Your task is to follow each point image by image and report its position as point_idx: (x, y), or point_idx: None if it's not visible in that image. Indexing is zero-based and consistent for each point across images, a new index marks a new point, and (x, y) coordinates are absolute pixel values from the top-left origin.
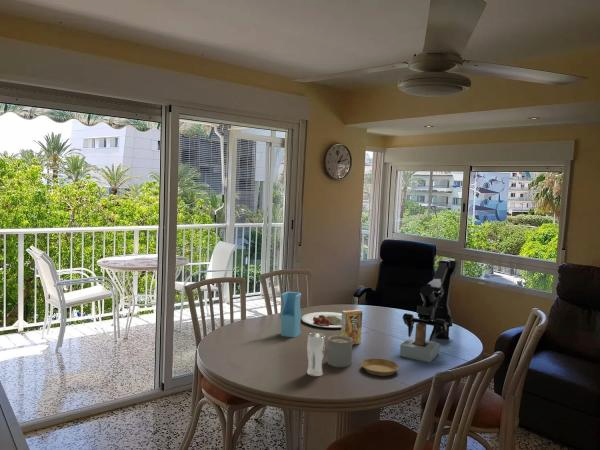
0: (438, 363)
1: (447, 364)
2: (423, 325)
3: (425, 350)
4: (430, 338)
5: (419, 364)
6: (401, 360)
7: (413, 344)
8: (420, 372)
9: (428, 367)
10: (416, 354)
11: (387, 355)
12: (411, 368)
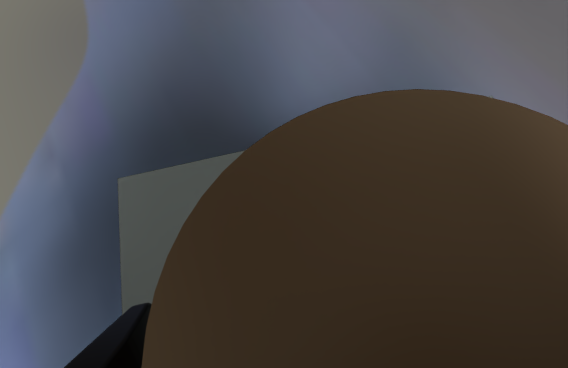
0: (101, 263)
1: (26, 306)
2: (257, 289)
3: (178, 170)
4: (119, 321)
5: (214, 118)
6: (361, 83)
7: None
8: (142, 9)
9: (135, 117)
10: None
11: (518, 87)
12: (218, 18)
